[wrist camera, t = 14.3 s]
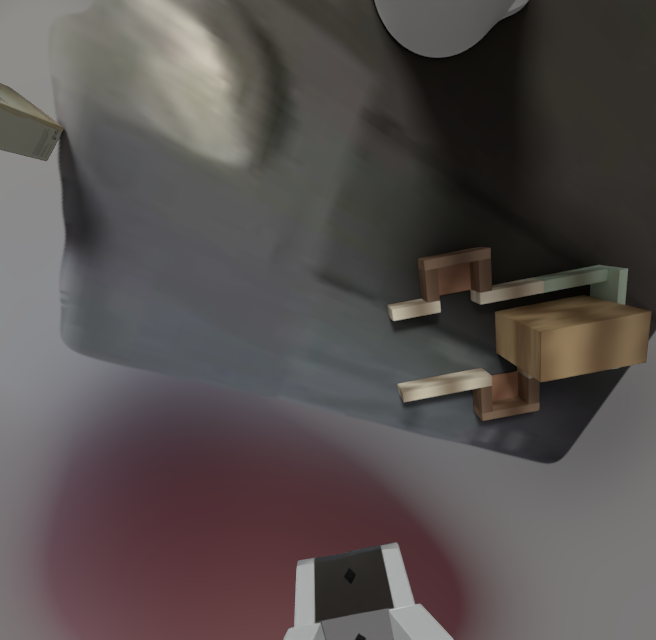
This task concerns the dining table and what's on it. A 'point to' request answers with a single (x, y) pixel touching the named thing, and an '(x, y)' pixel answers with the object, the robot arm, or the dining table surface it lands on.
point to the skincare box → (25, 127)
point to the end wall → (611, 286)
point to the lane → (475, 275)
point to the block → (572, 336)
